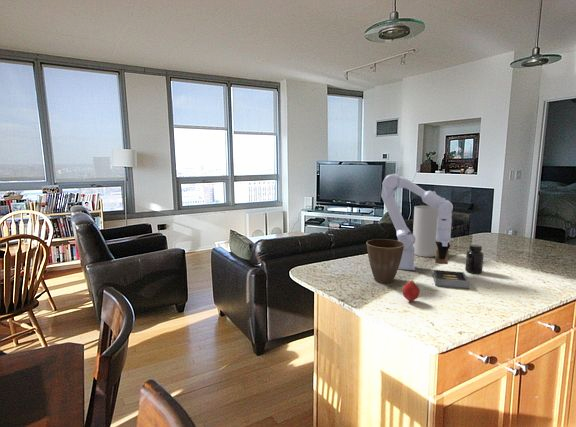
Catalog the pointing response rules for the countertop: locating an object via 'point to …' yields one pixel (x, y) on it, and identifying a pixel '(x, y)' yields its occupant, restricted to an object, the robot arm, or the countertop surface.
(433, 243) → the cylinder vase
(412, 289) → the onion
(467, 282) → the square metal tray
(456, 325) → the countertop surface
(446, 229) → the robot arm
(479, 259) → the supplement bottle
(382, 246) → the plant pot
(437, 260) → the tan wooden brick
